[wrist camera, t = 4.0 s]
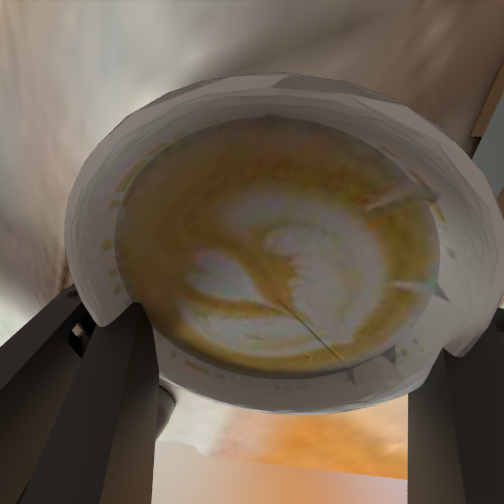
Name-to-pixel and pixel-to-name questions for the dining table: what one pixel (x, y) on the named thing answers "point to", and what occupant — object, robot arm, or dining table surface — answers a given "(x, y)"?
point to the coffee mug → (288, 241)
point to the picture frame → (492, 142)
